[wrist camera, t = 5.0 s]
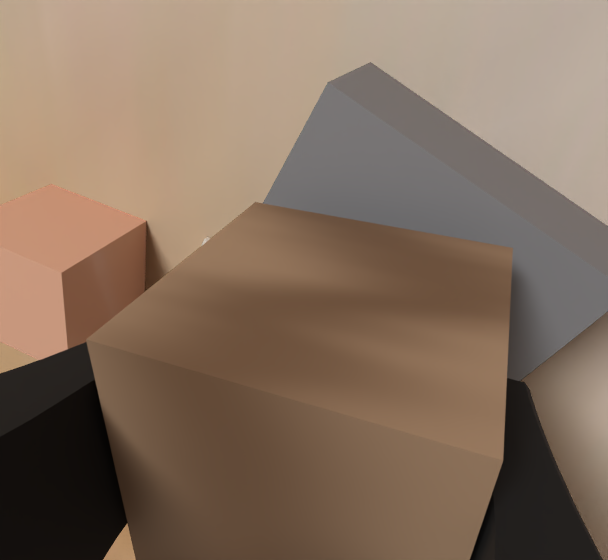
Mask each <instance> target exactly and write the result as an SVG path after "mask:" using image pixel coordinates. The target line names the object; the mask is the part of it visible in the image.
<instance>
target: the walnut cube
mask: <svg viewBox="0 0 608 560" xmlns="http://www.w3.org/2000/svg"><path fill="white" fill-rule="evenodd" d="M512 255H513V248H511V247H505V246H499V245H494V244H488V243H483V242H477V241H471V240H466V239H460V238H454V237H449V236H443V235H437V234H432V233H426V232H421V231H415V230H409V229H404V228H398V227H392V226H387V225H381V224H375V223H370V222H364V221H359V220H353V219H347V218H342V217H336V216H330V215H325V214H319V213H313V212H308V211H302V210H297V209H291V208H285V207H280V206H274V205H268V204H263V203H257V202H255V203H254V204H253V205H251V206H250V207H249V208H248V209H246V210H245V211H244V212H243V213H241V214H240V215H239V216H238V217H237V218H235V219H234V220H233V221H232V222H230V223H229V224H228V225H227V226H225V227H224V228H223V229H222V230H220V231H219V232H218V233H217V234H216V235H214V236H213V237H212V238H211V239H209V240H208V241H207V242H206V243H204V244H203V245H202V246H201V247H199V248H198V249H197V250H196V251H195V252H193V253H192V254H191V255H190V256H188V257H187V258H186V259H185V260H183V261H182V262H181V263H180V264H178V265H177V266H176V267H175V268H174V269H172V270H171V271H170V272H169V273H167V274H166V275H165V276H164V277H162V278H161V279H160V280H159V281H157V282H156V283H155V284H154V285H153V286H151V287H150V288H149V289H148V290H146V291H145V292H144V293H143V294H141V295H140V296H139V297H138V298H136V299H135V300H134V301H133V302H132V303H130V304H129V305H128V306H127V307H125V308H124V309H123V310H122V311H120V312H119V313H118V314H117V315H115V316H114V317H113V318H112V319H111V320H109V321H108V322H107V323H106V324H104V325H103V326H102V327H101V328H99V329H98V330H97V331H96V332H94V333H93V334H92V335H91V336H90V337H88V338H87V339H86V342H87V346H88V351H89V355H90V360H91V364H92V368H93V373H94V377H95V382H96V386H97V390H98V395H99V399H100V404H101V408H102V412H103V417H104V421H105V426H106V430H107V434H108V439H109V443H110V448H111V452H112V456H113V461H114V465H115V470H116V474H117V478H118V483H119V487H120V492H121V496H122V500H123V505H124V509H125V514H126V518H127V522H128V527H129V531H130V536H131V540H132V544H133V549H134V553H135V558H136V560H470V557H471V554H472V551H473V549H474V546H475V543H476V540H477V537H478V534H479V531H480V528H481V525H482V522H483V519H484V516H485V513H486V510H487V507H488V504H489V501H490V498H491V495H492V492H493V489H494V486H495V483H496V480H497V477H498V474H499V472H500V469H501V466H502V463H503V453H504V431H505V409H506V387H507V365H508V343H509V321H510V299H511V277H512Z"/></svg>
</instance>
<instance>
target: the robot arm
mask: <svg viewBox="0 0 608 560" xmlns="http://www.w3.org/2000/svg"><path fill="white" fill-rule="evenodd" d="M127 523H128V522H127V518H126V514H125V509H124V505H123V500H122V496H121V492H120V487H119V483H118V478H117V474H116V470H115V465H114V461H113V456H112V452H111V448H110V443H109V439H108V434H107V430H106V426H105V421H104V417H103V412H102V408H101V404H100V399H99V395H98V390H97V386H96V382H95V377H94V373H93V368H92V364H91V360H90V355H89V351H88V346H87V342H85V343H82V344H80V345H77V346H75V347H72V348H69V349H67V350H64V351H62V352H59V353H57V354H54V355H51V356H49V357H46V358H44V359H41V360H39V361H36V362H33V363H30V364H27V365H25V366H22V367H19V368H16V369H13V370H10V371H7V372H4V373H1V374H0V560H103V559H104V557H105V555H106V554H107V552H108V551H109V549H110V547H111V546H112V544H113V543H114V541H115V540H116V538H117V537H118V535H119V534H120V532H121V531H122V530H123V528H124V527H125V525H126V524H127ZM470 560H603V559H602V557H601V555H600V554H599V552H598V550H597V548H596V546H595V544H594V542H593V540H592V538H591V536H590V534H589V532H588V530H587V528H586V527H585V524H584V522H583V520H582V518H581V516H580V514H579V512H578V510H577V508H576V506H575V504H574V502H573V500H572V497H571V495H570V493H569V491H568V488H567V486H566V484H565V482H564V480H563V477H562V475H561V473H560V471H559V468H558V466H557V464H556V461H555V459H554V457H553V454H552V452H551V449H550V447H549V444H548V442H547V439H546V437H545V434H544V431H543V429H542V426H541V423H540V421H539V418H538V415H537V412H536V409H535V406H534V403H533V400H532V396H531V393H530V390H529V388H528V387H527V385H526V384H525V383H524V382H520V381H517V380H513V379H509V378H507V387H506V409H505V431H504V453H503V463H502V466H501V469H500V472H499V474H498V477H497V480H496V483H495V486H494V489H493V492H492V495H491V498H490V501H489V504H488V507H487V510H486V513H485V516H484V519H483V522H482V525H481V528H480V531H479V534H478V537H477V540H476V543H475V546H474V549H473V551H472V554H471V557H470Z"/></svg>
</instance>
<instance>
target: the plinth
mask: <svg viewBox="0 0 608 560" xmlns="http://www.w3.org/2000/svg"><path fill="white" fill-rule="evenodd" d="M263 204H268V205H274V206H280V207H285V208H291V209H297V210H302V211H308V212H313V213H319V214H325V215H330V216H336V217H342V218H347V219H353V220H359V221H364V222H370V223H375V224H381V225H387V226H392V227H398V228H404V229H409V230H415V231H421V232H426V233H432V234H437V235H443V236H449V237H454V238H460V239H466V240H471V241H477V242H483V243H488V244H494V245H499V246H505V247H511V248H513V255H512V277H511V299H510V321H509V343H508V365H507V378H509V379H513V380H517V381H521V380H522V379H523V378H524V377H526V376H527V375H528V374H529V373H531V372H532V371H533V370H535V369H536V368H537V367H538V366H540V365H541V364H542V363H543V362H545V361H546V360H547V359H548V358H550V357H551V356H552V355H553V354H555V353H556V352H557V351H558V350H560V349H561V348H562V347H564V346H565V345H566V344H567V343H569V342H570V341H571V340H572V339H574V338H575V337H576V336H577V335H579V334H580V333H581V332H582V331H584V330H585V329H586V328H587V327H589V326H590V325H591V324H592V323H594V322H595V321H596V320H598V319H599V318H600V317H601V316H603V315H604V314H605V313H606V312H608V226H607V225H605V224H604V223H602V222H601V221H599V220H598V219H597V218H595V217H594V216H592V215H591V214H589V213H588V212H586V211H585V210H584V209H582V208H581V207H579V206H578V205H576V204H575V203H573V202H572V201H571V200H569V199H568V198H566V197H565V196H563V195H562V194H560V193H559V192H558V191H556V190H555V189H553V188H552V187H550V186H549V185H547V184H546V183H545V182H543V181H542V180H540V179H539V178H537V177H536V176H534V175H533V174H532V173H530V172H529V171H527V170H526V169H524V168H523V167H521V166H520V165H519V164H517V163H516V162H514V161H513V160H511V159H510V158H508V157H507V156H505V155H504V154H503V153H501V152H500V151H498V150H497V149H495V148H494V147H492V146H491V145H490V144H488V143H487V142H485V141H484V140H482V139H481V138H479V137H478V136H477V135H475V134H474V133H472V132H471V131H469V130H468V129H466V128H465V127H464V126H462V125H461V124H459V123H458V122H456V121H455V120H453V119H452V118H451V117H449V116H448V115H446V114H445V113H443V112H442V111H440V110H439V109H438V108H436V107H435V106H433V105H432V104H430V103H429V102H427V101H426V100H425V99H423V98H422V97H420V96H419V95H417V94H416V93H414V92H413V91H411V90H410V89H409V88H407V87H406V86H404V85H403V84H401V83H400V82H398V81H397V80H396V79H394V78H393V77H391V76H390V75H388V74H387V73H385V72H384V71H383V70H381V69H380V68H378V67H377V66H375V65H374V64H372V63H371V62H370V63H368V64H366V65H364V66H362V67H359V68H357V69H355V70H353V71H351V72H349V73H347V74H345V75H343V76H341V77H338V78H336V79H334V80H332V81H330V82H328V83H327V85H326V87H325V89H324V91H323V93H322V94H321V96H320V98H319V100H318V102H317V104H316V106H315V107H314V109H313V111H312V113H311V115H310V117H309V119H308V120H307V122H306V124H305V126H304V128H303V130H302V132H301V133H300V135H299V137H298V139H297V141H296V143H295V145H294V147H293V148H292V150H291V152H290V154H289V156H288V158H287V160H286V161H285V163H284V165H283V167H282V169H281V171H280V173H279V174H278V176H277V178H276V180H275V182H274V184H273V186H272V187H271V189H270V191H269V193H268V195H267V197H266V199H265V200H264V202H263Z"/></svg>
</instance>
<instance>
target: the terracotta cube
mask: <svg viewBox="0 0 608 560" xmlns="http://www.w3.org/2000/svg"><path fill="white" fill-rule="evenodd" d="M145 262H146V221H145V220H143V219H140V218H138V217H135V216H133V215H130V214H127V213H125V212H122V211H120V210H117V209H115V208H112V207H109V206H107V205H104V204H102V203H99V202H96V201H94V200H91V199H89V198H86V197H84V196H81V195H78V194H76V193H73V192H71V191H68V190H66V189H63V188H60V187H58V186H55V185H53V184H50V185H48V186H45V187H43V188H40V189H38V190H36V191H33V192H31V193H28V194H26V195H23V196H21V197H19V198H16V199H14V200H11V201H9V202H6V203H4V204H2V205H0V342H2V343H4V344H6V345H8V346H10V347H13V348H15V349H17V350H19V351H21V352H23V353H25V354H27V355H29V356H31V357H34V358H36V359H38V360H41V359H44V358H46V357H49V356H51V355H54V354H57V353H59V352H62V351H64V350H67V349H69V348H72V347H75V346H77V345H80V344H82V343H85V342H86V339H87V338H88V337H90V336H91V335H92V334H93V333H94V332H96V331H97V330H98V329H99V328H101V327H102V326H103V325H104V324H106V323H107V322H108V321H109V320H111V319H112V318H113V317H114V316H115V315H117V314H118V313H119V312H120V311H122V310H123V309H124V308H125V307H127V306H128V305H129V304H130V303H132V302H133V301H134V300H135V299H136V298H138V297H139V296H140V295H141V294H143V293H144V292H145Z"/></svg>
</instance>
